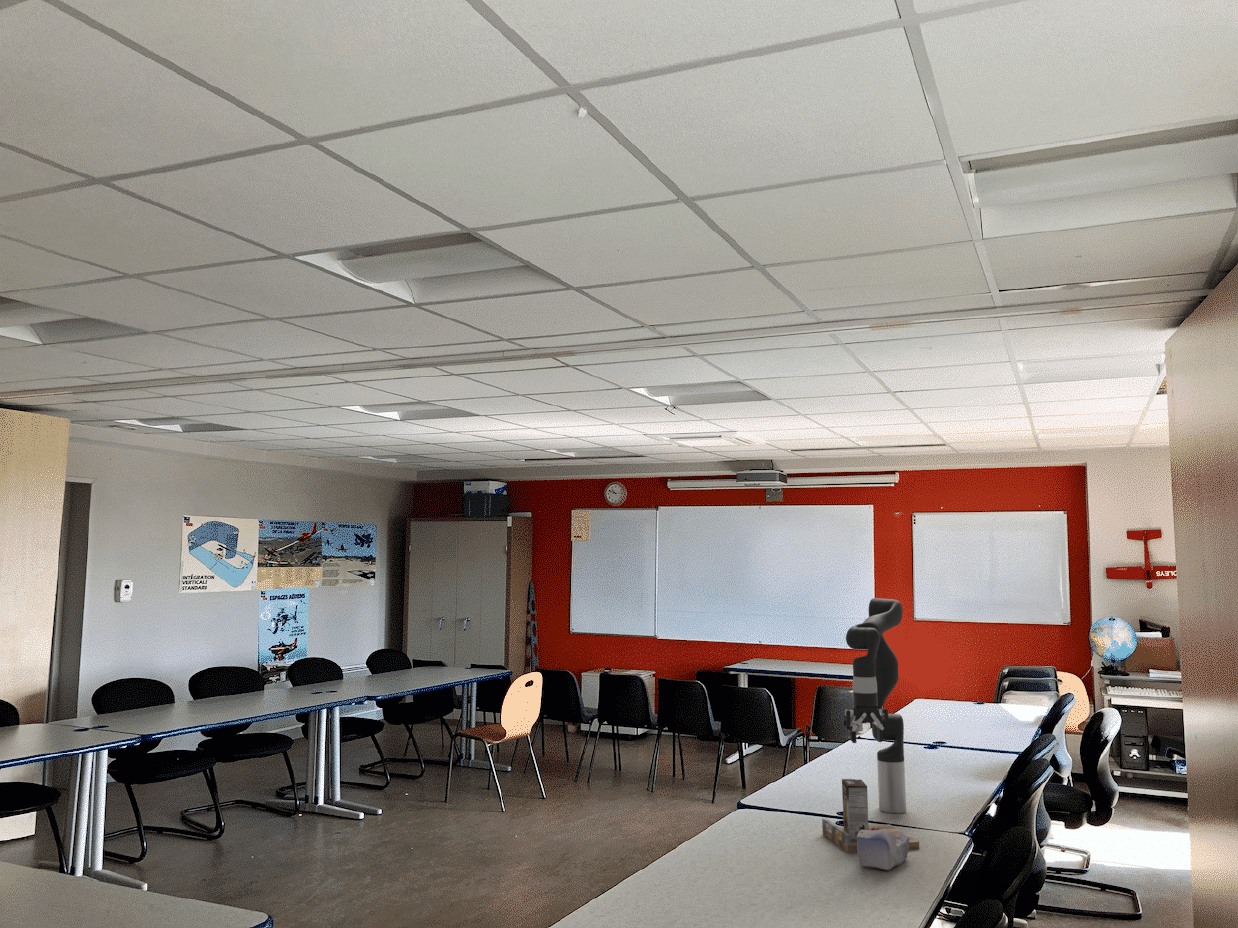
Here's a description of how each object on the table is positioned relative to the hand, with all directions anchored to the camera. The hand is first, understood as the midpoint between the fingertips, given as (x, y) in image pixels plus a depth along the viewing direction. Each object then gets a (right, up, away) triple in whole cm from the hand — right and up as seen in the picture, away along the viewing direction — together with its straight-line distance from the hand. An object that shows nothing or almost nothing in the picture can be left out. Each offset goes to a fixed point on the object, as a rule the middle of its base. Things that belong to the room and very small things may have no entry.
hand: (866, 742), depth 296 cm
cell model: (-2, -27, -27) cm, 38 cm away
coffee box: (-5, -28, -6) cm, 29 cm away
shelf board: (-1, -29, -6) cm, 30 cm away
